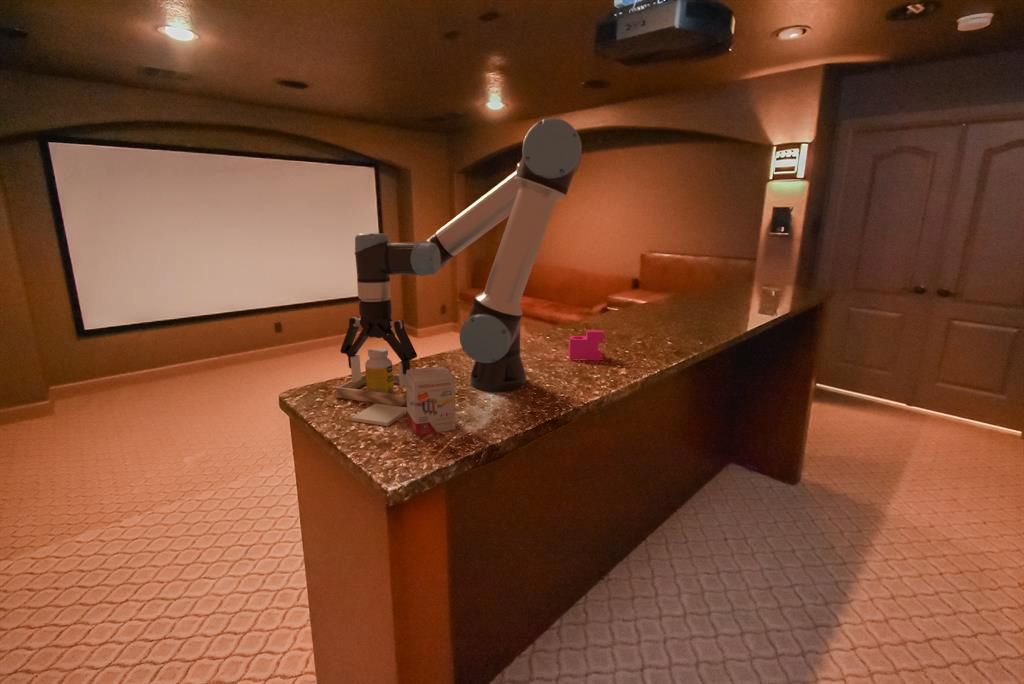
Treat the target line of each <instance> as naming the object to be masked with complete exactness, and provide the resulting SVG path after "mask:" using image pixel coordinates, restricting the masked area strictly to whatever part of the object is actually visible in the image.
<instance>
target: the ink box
mask: <svg viewBox="0 0 1024 684" xmlns="http://www.w3.org/2000/svg"><path fill="white" fill-rule="evenodd" d="M455 378H456V377H455V376H454V375H453V374H452V373H451V372H450V370H449V369H448V368H447V367H445V366H435V367H425V368H424V367H423V368H415V369H411V368H410V370H407V371H406V386H405V387H406V391H407V403H406V408H407V413H406V414H407V417H406V418H407V424H409V426H410V428H411V430H412V431H413V433H414V435H416V436H423V435H429V434H430V435H431V434H435V433H442V432H448V431H454V430H456V387H455V386H456V384H455V383H456V381H455Z"/></svg>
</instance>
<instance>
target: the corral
mask: <svg viewBox="0 0 1024 684" xmlns="http://www.w3.org/2000/svg"><path fill="white" fill-rule="evenodd" d="M365 384H366V373H364V374H361V380H359V381H357V382H352V379H351V380H349V381H346V382H345V383H342V384H341V385H338V386H336V387H335V388H334V391H335V398H339V399H345V400H354V401H360V402H369V403H374V404H375V403H376V404H383V405H391V406H398V407H404V406H405V405H407V390H406V391H404V392H403V393H401V394H397V393H393V394H390V393H382V392H374V391H367V389H366V390H365V389H359V387H361V386H363V385H365ZM393 384H399V374H395V373H393ZM399 385H400V384H399Z"/></svg>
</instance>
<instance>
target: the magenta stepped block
mask: <svg viewBox="0 0 1024 684" xmlns="http://www.w3.org/2000/svg"><path fill="white" fill-rule="evenodd" d="M604 342H605V331H604V330H603V329H602V330H600V329H599V330H597V329H586V333H585V335H569V341H568V359H569V358H570V359H586V360H603V361H604V356H603V353H602V350H601V348H599V344H604ZM570 359H569V360H570Z"/></svg>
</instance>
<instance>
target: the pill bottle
mask: <svg viewBox="0 0 1024 684" xmlns="http://www.w3.org/2000/svg"><path fill="white" fill-rule="evenodd" d="M388 351H389V349H388V348H385V347H374V348H370V349H368V350H367V355H368V357H369V359H367V360H366V362H365V363H364V366H365V374H366V383H365V384H366V391H374V392H382V393H390V394H394V392H395V391H394V390H395V389H394V383H393V374H394V373H393V371H394V370H393V362H392V361H393V360H392V359H390V358H388V355H389V352H388Z"/></svg>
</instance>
